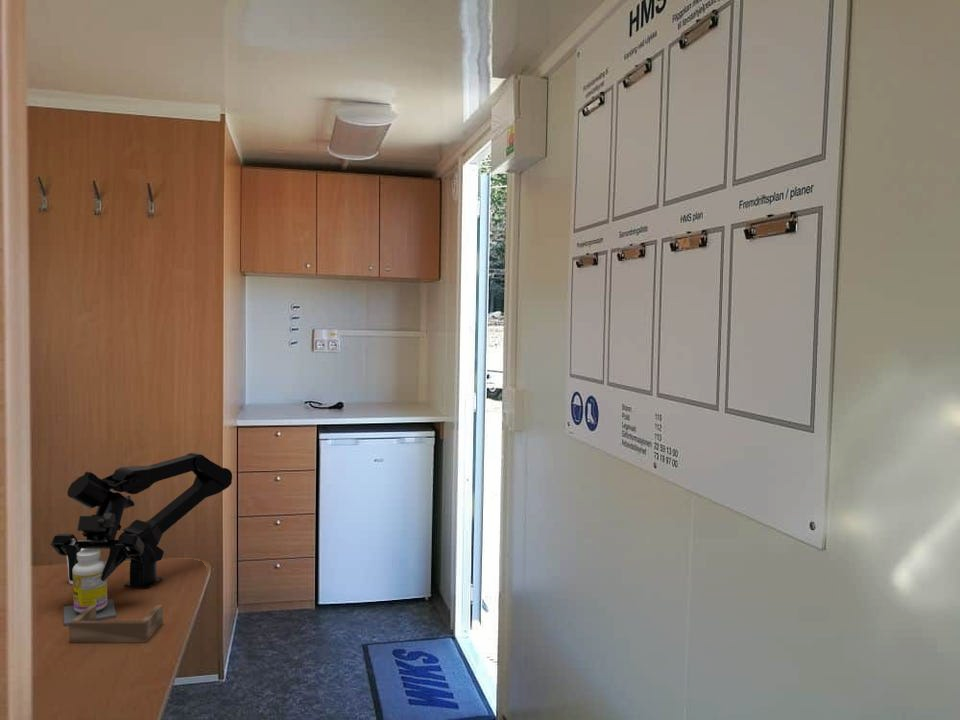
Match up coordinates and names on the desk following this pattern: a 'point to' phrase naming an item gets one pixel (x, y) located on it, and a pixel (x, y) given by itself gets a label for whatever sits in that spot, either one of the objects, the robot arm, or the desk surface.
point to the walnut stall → (113, 627)
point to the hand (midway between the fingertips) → (86, 580)
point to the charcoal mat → (100, 614)
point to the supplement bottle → (89, 581)
